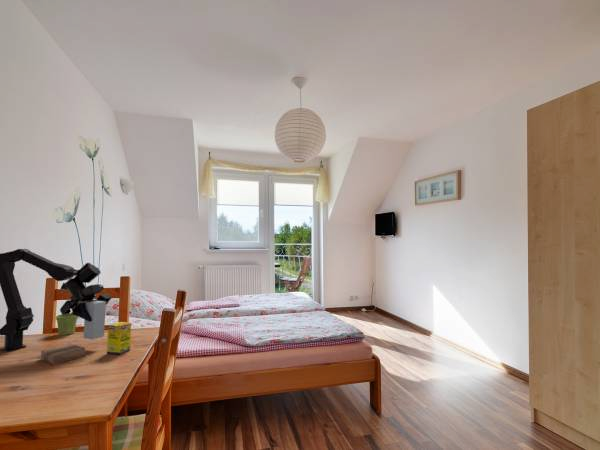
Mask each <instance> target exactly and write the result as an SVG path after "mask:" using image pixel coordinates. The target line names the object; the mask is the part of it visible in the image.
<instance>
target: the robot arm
mask: <svg viewBox="0 0 600 450" xmlns="http://www.w3.org/2000/svg"><path fill="white" fill-rule="evenodd" d="M20 261H22V262H24V263H25V262H26V263H27V264H29V265H32V266H34V267H36V268H38V269H40V270H43V271H44V272H46V273H47V275H48V276H49V277H51V278H53V280H55V281H57V282H62V281H66V282H62V285H61V286H60V290H65V291H68V292H69V294H70V295H71V296H70V299H67V300H66V301H65V302H64V303H63V304H62V306H61V307H60V309H59V312H60V313H61V314H62V315H66V314H69V313H71V315H76V316H78V318H81V319H83V320H87V321H89V322H91V321H92V319H91V316H90V315H89V313H88V311H87V310H86V302H92V301H105V302H106V305H107V304H108V303H109V302H110V301H111V300H112V296H111V295H110V294H109V293H106V294H99V296H98V297H97V298H96V296H97V294H98V293H101V292H102V291H103V290H104V285H103V283H102V282H99V283H96V284H89V283H91V282H92V281H93V280H94V279H96V278H97V277H98V276H100V274H101V269H99V267H97V266H96V265H94V264H92V263H91V262H86V263H85V264H84V265H83V266H82V267H81V268H80V269H75V268H74V267H73V266H71V265H68V264H62V263H57V262H54V261H52V260H51V259H49V258H46V257H44V256H42V255H39V254H37V253H36V252H33V251H31V250H30V249H29V248H18V249H15V250H12V251H8V252H2V253H0V289H1V293H2V295H3V299H4V301H5V305H6V308H7V312H6V315H5V324H4V325H2V326H1V327H0V336H4V345H3V346H1V347H0V350H3V351H5V352H10V351H14V350H17V349H22V348H25V347H26V348H27V344H24V331H27V330H29V328H30V326H31V325H32V323H33V322H34V317H35V315H34V314H33V310H32V307H26V306H24V304H23V301H22V297H21V294H20V291H19V288H18V284H17V281H16V279H15V275H14V270H15V266H16V262H20ZM86 283H87V284H89V285H88V286H86V285H85V284H86Z"/></svg>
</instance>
